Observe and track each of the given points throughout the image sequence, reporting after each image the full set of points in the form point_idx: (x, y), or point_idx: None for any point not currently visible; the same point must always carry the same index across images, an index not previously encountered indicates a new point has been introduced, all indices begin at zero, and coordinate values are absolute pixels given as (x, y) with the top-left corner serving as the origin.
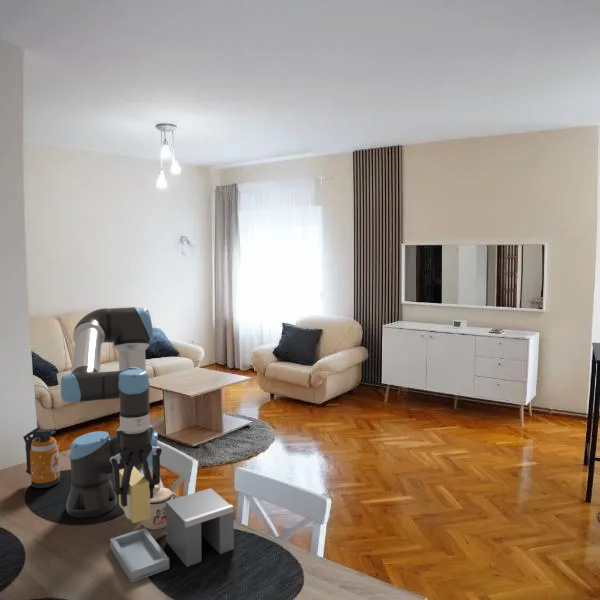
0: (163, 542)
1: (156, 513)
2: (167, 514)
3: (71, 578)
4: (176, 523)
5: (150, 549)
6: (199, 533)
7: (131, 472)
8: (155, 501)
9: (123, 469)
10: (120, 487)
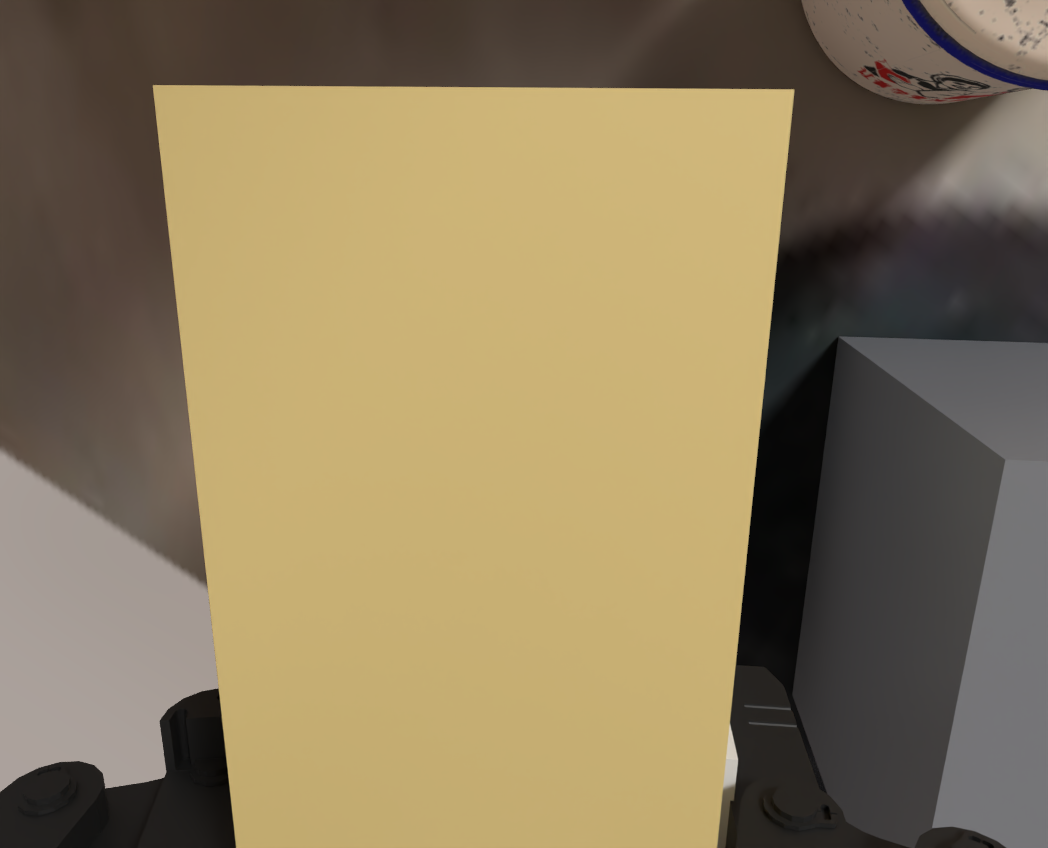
0: (815, 324)
1: (932, 78)
2: (930, 457)
3: (109, 356)
4: (895, 695)
5: None
6: None
7: (509, 562)
8: (991, 57)
9: (350, 148)
10: (152, 817)
